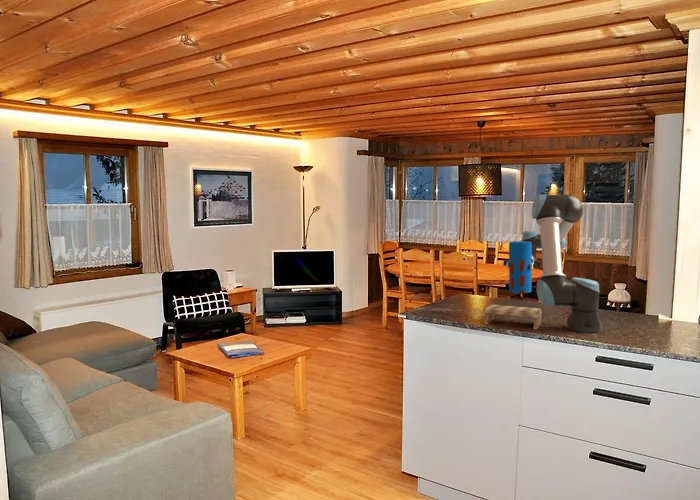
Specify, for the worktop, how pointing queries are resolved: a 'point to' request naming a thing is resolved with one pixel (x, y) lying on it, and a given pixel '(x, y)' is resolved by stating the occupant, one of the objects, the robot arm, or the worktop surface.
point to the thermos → (520, 266)
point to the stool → (513, 313)
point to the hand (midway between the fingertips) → (519, 265)
